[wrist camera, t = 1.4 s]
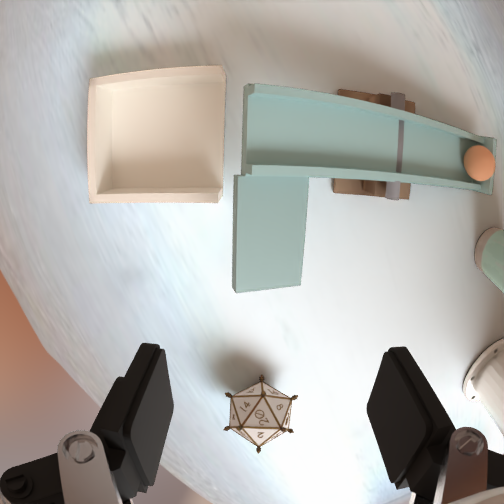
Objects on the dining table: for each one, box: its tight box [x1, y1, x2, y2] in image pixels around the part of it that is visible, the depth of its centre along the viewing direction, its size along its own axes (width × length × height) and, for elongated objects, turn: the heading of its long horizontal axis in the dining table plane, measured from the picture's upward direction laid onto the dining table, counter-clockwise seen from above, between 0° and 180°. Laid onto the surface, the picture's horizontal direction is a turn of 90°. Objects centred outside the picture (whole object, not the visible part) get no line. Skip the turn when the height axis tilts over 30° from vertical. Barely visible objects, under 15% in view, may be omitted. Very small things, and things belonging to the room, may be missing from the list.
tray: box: [87, 65, 226, 203], centre depth 26 cm, size 12×12×4 cm
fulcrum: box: [333, 89, 415, 199], centre depth 26 cm, size 8×10×4 cm
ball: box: [464, 145, 495, 181], centre depth 24 cm, size 4×4×4 cm
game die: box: [224, 375, 298, 454], centre depth 34 cm, size 9×8×10 cm
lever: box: [232, 83, 496, 293], centre depth 23 cm, size 26×16×4 cm, turn 88°
